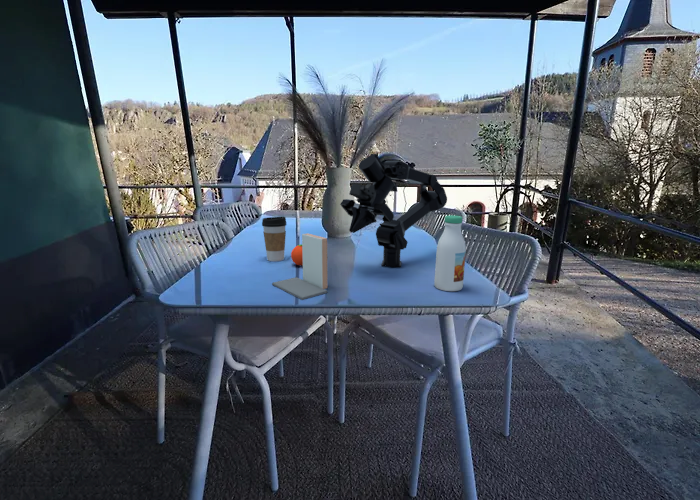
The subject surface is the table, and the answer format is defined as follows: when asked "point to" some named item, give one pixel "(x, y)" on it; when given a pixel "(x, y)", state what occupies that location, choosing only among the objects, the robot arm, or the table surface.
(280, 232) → the coffee cup
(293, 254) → the clementine
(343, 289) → the table surface
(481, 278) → the table surface
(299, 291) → the mat
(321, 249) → the tile
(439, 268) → the milk bottle
